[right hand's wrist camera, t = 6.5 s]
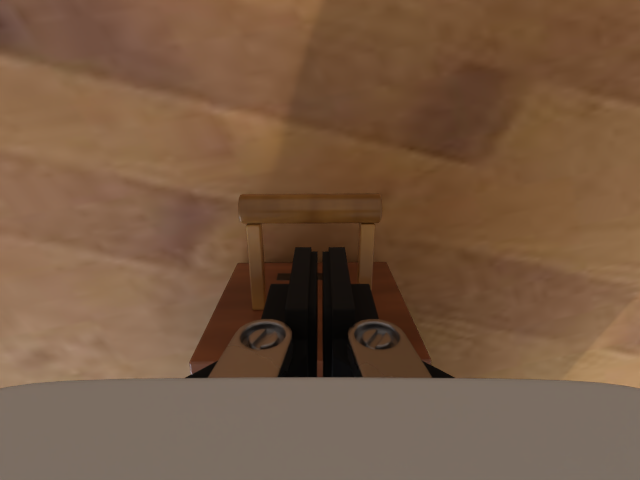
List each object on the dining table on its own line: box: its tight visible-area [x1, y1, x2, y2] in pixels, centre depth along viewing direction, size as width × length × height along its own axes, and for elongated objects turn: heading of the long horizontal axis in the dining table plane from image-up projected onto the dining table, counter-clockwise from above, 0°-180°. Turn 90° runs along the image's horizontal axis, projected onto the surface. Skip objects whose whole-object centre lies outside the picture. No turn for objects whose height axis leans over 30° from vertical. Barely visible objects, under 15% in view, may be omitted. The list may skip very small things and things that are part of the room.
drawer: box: [189, 194, 431, 377], centre depth 18 cm, size 18×9×9 cm, turn 0°
